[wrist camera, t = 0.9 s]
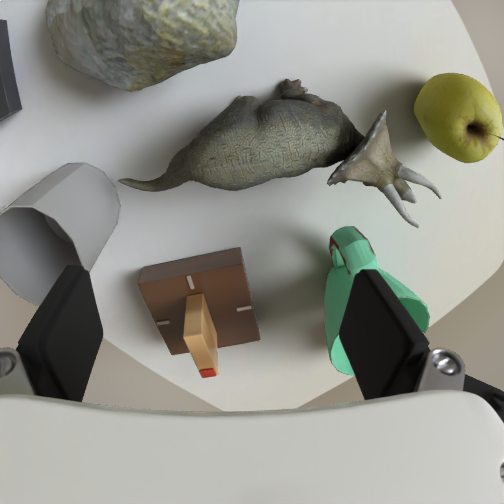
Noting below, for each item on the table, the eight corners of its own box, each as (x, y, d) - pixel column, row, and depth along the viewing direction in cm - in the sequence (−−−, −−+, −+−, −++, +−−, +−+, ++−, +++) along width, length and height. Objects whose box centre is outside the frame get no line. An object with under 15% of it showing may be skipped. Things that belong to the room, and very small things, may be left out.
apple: (466, 63, 22) (536, 110, 15) (452, 129, 28) (508, 186, 21) (402, 54, 22) (475, 98, 15) (393, 129, 28) (448, 191, 21)
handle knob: (186, 295, 30) (182, 339, 25) (203, 292, 30) (201, 336, 25) (202, 336, 32) (201, 379, 28) (217, 333, 32) (218, 377, 28)
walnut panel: (143, 266, 31) (137, 285, 28) (240, 246, 31) (243, 264, 28) (173, 336, 36) (171, 356, 34) (257, 321, 36) (260, 341, 34)
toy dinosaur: (131, 180, 27) (87, 240, 17) (123, 85, 22) (65, 93, 13) (370, 175, 29) (436, 228, 19) (379, 88, 24) (459, 103, 15)
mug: (392, 289, 36) (430, 347, 27) (319, 323, 37) (343, 389, 29) (365, 181, 29) (421, 227, 20) (272, 222, 30) (295, 286, 22)
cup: (91, 258, 30) (56, 324, 21) (32, 210, 27) (-21, 263, 18) (137, 199, 28) (104, 256, 19) (70, 144, 24) (11, 179, 15)
